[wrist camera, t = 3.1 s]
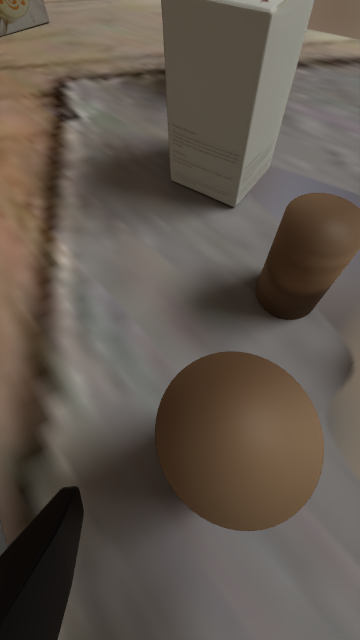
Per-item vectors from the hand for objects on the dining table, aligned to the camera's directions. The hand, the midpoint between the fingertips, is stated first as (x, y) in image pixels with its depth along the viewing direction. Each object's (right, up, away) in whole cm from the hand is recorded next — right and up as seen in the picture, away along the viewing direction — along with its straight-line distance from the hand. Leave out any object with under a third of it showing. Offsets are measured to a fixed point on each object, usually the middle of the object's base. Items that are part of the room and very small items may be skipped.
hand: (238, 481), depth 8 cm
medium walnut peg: (+6, +7, +13) cm, 16 cm away
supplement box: (+2, +19, +20) cm, 28 cm away
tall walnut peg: (0, -3, +8) cm, 9 cm away
